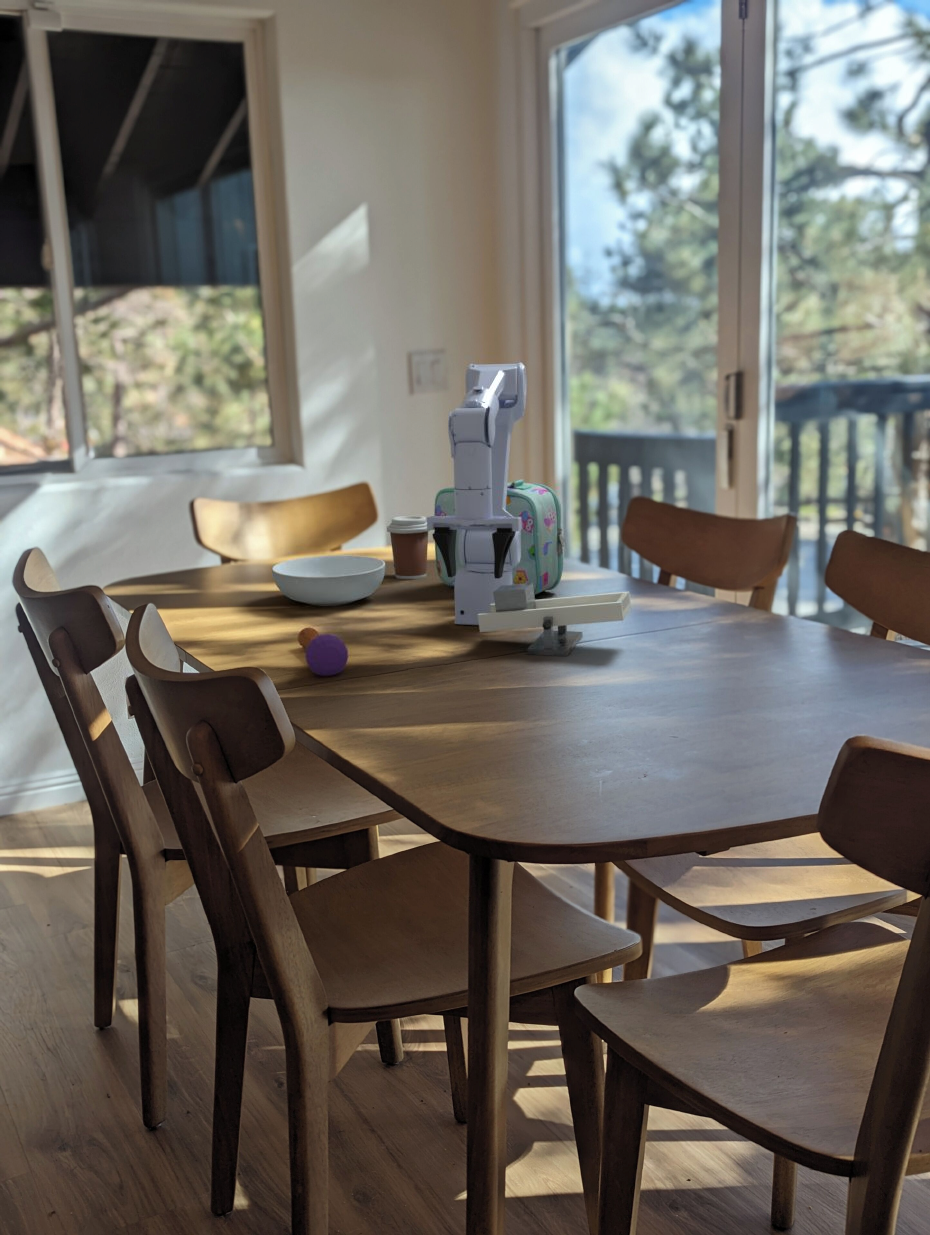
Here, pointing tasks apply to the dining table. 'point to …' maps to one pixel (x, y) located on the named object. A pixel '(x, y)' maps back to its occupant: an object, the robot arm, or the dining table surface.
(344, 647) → the kendama
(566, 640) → the beam stand
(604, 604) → the balance beam
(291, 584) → the serving bowl
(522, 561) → the lunch box
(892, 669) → the dining table surface
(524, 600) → the block
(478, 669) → the dining table surface
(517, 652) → the dining table surface
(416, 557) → the coffee cup
